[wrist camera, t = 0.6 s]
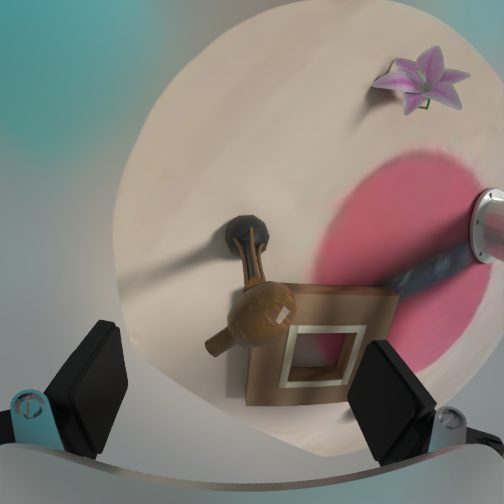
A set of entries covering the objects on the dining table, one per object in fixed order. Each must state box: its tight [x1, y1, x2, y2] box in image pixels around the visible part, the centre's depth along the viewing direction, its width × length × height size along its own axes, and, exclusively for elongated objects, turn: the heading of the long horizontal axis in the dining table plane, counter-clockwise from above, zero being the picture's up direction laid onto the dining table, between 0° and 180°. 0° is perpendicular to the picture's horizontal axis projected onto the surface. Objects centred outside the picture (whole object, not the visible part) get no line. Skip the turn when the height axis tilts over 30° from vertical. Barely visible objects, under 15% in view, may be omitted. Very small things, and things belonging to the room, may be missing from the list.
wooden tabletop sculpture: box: [205, 215, 297, 357], centre depth 22 cm, size 6×5×20 cm
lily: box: [371, 46, 471, 115], centre depth 24 cm, size 12×12×10 cm
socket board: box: [245, 283, 400, 406], centre depth 35 cm, size 18×18×3 cm
